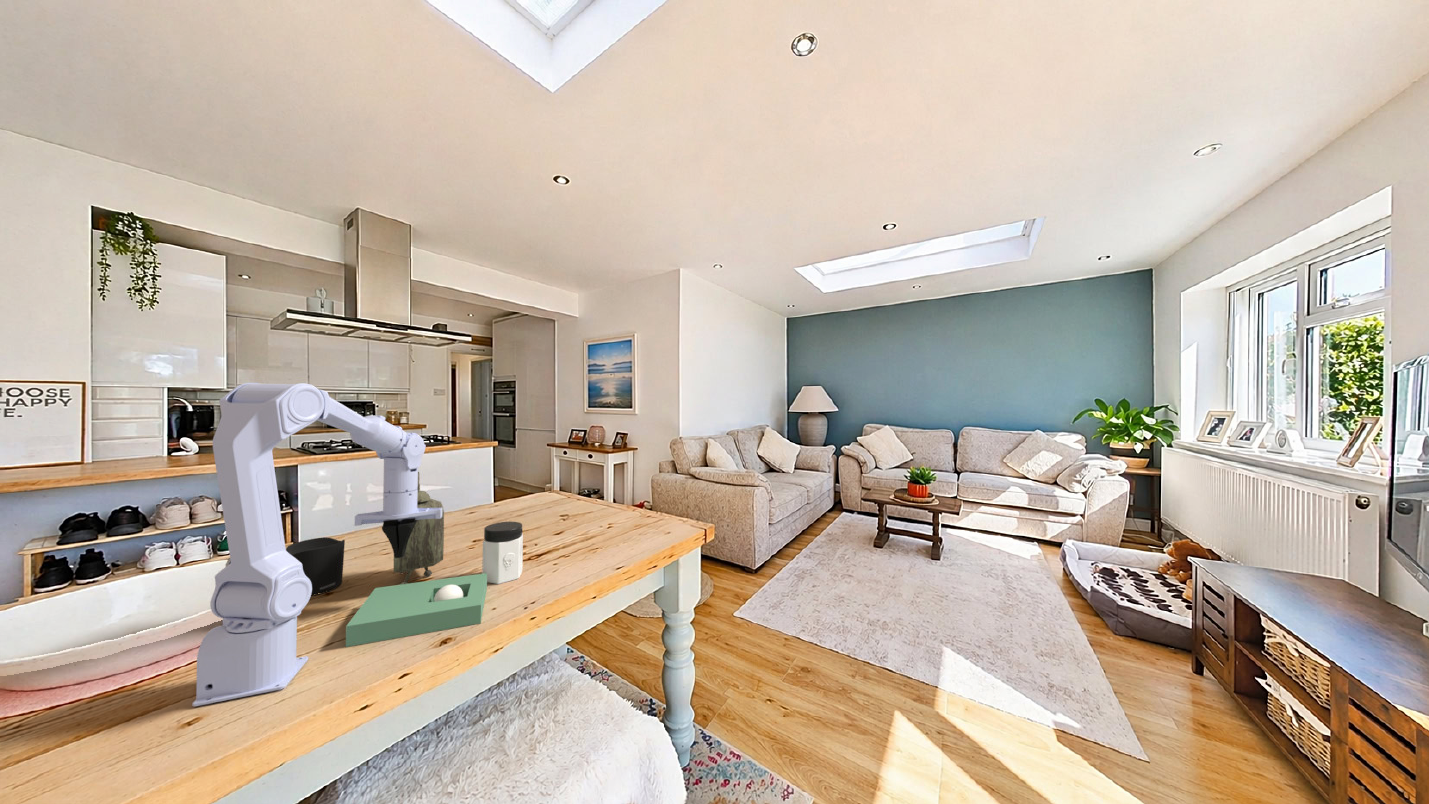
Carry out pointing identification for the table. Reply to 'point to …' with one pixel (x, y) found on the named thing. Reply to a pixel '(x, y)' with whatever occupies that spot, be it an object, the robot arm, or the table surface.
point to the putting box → (416, 610)
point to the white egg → (448, 593)
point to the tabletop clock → (423, 541)
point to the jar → (502, 552)
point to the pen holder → (320, 561)
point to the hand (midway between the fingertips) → (399, 556)
